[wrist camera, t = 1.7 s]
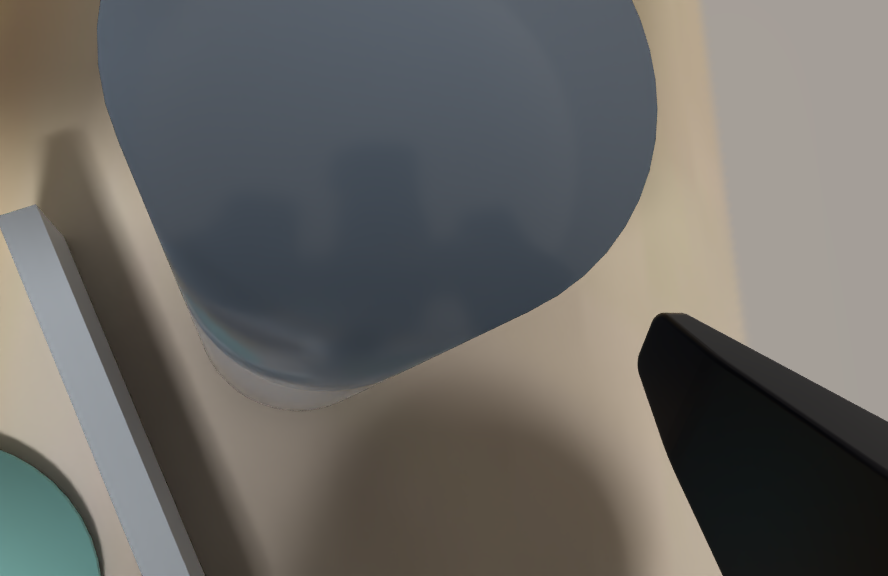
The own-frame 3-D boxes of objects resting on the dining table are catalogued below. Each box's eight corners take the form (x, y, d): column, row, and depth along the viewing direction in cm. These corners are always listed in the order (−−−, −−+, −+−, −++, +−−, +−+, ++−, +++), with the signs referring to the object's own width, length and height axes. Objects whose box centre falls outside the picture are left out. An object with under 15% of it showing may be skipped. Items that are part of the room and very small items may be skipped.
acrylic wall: (255, 696, 16) (256, 737, 14) (221, 715, 16) (217, 761, 14) (63, 236, 18) (35, 204, 15) (29, 248, 17) (-4, 216, 15)
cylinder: (427, 361, 19) (740, 213, 7) (245, 445, 18) (247, 441, 5) (350, 192, 20) (520, -220, 8) (166, 258, 18) (-2, -137, 6)
